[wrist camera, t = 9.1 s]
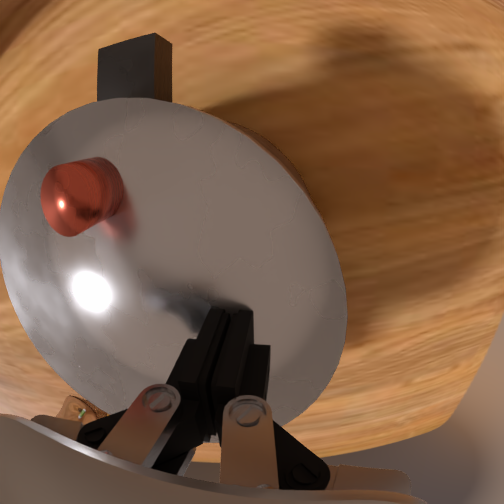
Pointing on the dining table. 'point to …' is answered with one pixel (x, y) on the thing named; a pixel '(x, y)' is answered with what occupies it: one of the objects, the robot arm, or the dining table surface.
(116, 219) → the cooker lid
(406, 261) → the dining table surface
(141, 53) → the cooking pot
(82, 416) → the beer glass
